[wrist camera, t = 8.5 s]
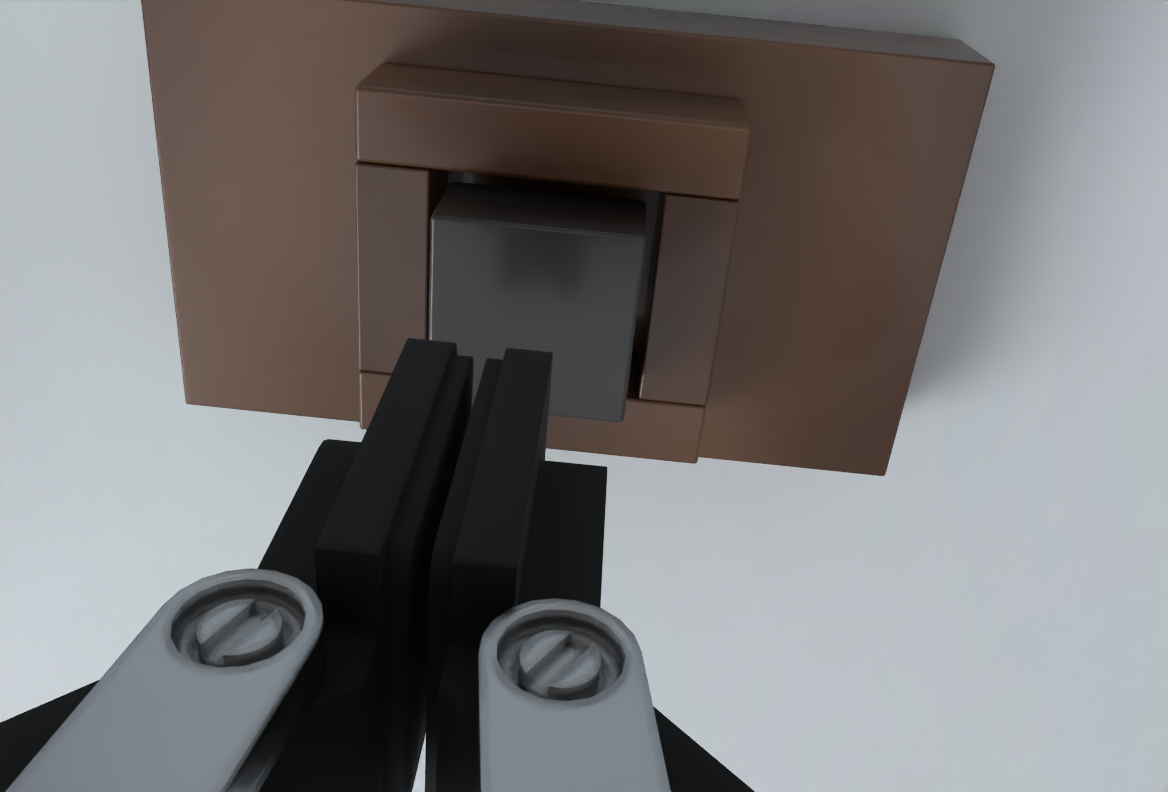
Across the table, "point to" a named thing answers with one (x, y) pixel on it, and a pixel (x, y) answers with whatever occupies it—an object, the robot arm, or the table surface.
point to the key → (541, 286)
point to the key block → (577, 166)
